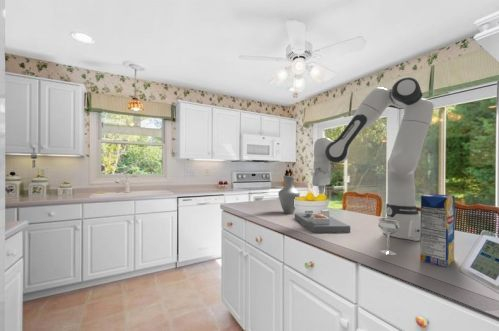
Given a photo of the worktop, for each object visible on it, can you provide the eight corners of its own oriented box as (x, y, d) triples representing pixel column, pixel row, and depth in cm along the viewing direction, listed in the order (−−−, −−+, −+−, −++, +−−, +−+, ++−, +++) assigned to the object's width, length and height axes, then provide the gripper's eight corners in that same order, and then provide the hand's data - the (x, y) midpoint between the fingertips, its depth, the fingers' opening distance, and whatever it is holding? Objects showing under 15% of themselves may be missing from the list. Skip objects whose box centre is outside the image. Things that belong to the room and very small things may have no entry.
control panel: (323, 218, 146) (323, 208, 147) (350, 232, 115) (350, 219, 115) (294, 218, 145) (294, 208, 145) (314, 232, 113) (314, 220, 113)
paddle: (327, 217, 132) (327, 209, 132) (329, 218, 130) (329, 210, 130) (320, 217, 132) (320, 209, 132) (322, 218, 130) (322, 210, 130)
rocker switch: (309, 213, 139) (309, 210, 139) (312, 213, 134) (312, 210, 134) (304, 213, 138) (304, 210, 139) (307, 213, 134) (307, 210, 134)
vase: (302, 212, 165) (303, 176, 165) (294, 215, 153) (295, 176, 153) (283, 210, 173) (284, 175, 173) (274, 212, 161) (275, 175, 161)
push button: (322, 217, 123) (322, 214, 123) (326, 220, 118) (326, 216, 118) (313, 217, 123) (313, 214, 123) (316, 220, 118) (316, 216, 118)
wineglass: (375, 252, 87) (376, 219, 88) (380, 248, 93) (380, 217, 93) (397, 257, 83) (397, 222, 83) (400, 252, 88) (401, 219, 88)
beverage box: (420, 260, 80) (421, 195, 80) (429, 253, 87) (430, 193, 87) (446, 267, 75) (446, 197, 75) (454, 259, 82) (454, 195, 82)
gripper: (321, 168, 119) (321, 195, 119) (332, 168, 136) (332, 192, 136) (309, 167, 122) (309, 194, 122) (321, 168, 139) (321, 191, 139)
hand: (321, 193), depth 129 cm, fingers closed
